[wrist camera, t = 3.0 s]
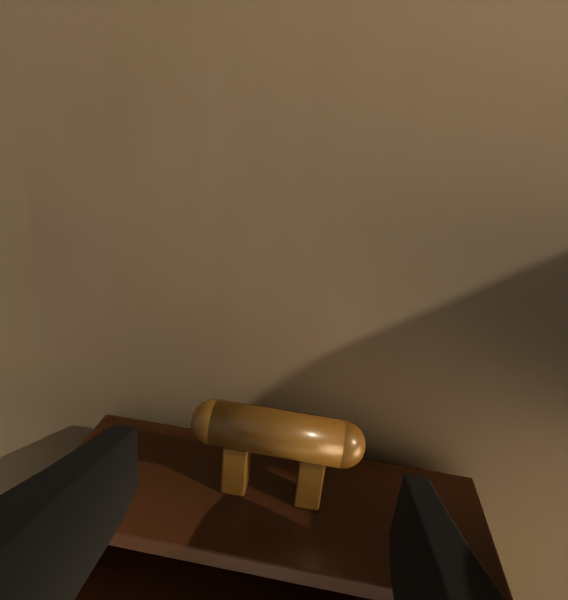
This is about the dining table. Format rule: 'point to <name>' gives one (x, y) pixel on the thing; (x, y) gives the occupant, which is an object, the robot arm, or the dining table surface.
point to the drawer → (265, 511)
